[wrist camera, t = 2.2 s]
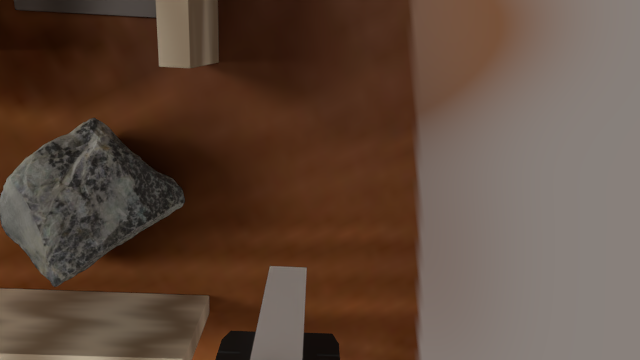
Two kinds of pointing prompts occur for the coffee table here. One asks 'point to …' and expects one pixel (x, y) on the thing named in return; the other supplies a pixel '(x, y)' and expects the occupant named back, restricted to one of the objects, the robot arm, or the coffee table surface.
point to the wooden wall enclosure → (113, 307)
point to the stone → (82, 200)
